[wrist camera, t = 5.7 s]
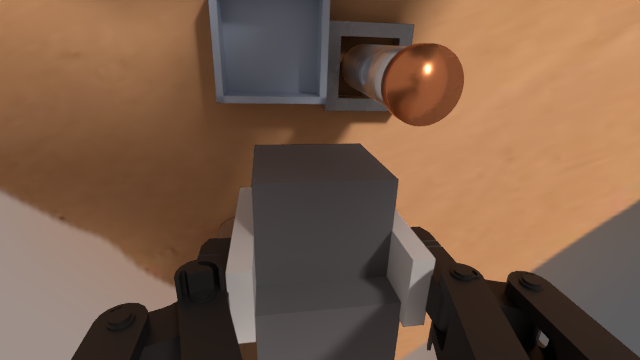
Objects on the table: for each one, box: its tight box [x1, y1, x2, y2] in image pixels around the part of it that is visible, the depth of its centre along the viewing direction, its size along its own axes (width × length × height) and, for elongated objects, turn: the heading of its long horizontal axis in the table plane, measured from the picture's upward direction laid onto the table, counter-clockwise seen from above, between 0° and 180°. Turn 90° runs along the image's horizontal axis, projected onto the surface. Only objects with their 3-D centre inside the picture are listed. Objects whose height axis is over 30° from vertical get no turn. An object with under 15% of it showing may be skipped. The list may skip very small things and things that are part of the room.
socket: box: [322, 20, 414, 111], centre depth 27 cm, size 7×7×2 cm
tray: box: [208, 0, 330, 104], centre depth 25 cm, size 8×8×3 cm
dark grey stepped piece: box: [251, 144, 401, 360], centre depth 14 cm, size 7×5×6 cm
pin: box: [342, 43, 464, 126], centre depth 22 cm, size 4×4×12 cm
